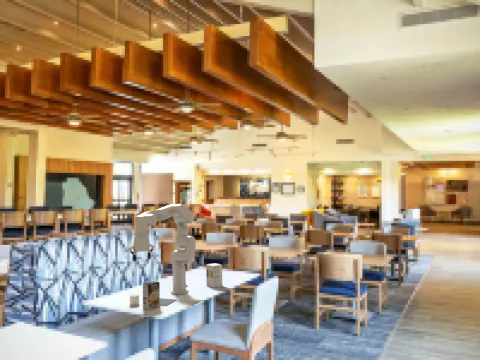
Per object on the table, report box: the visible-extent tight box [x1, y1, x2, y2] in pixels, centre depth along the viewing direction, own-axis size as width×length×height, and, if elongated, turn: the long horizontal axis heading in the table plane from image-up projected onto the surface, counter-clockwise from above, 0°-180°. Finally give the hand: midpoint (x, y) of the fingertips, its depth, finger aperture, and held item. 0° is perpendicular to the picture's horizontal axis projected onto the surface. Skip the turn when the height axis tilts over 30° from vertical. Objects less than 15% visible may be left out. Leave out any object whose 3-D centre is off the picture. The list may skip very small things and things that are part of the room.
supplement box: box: [205, 262, 223, 288], centre depth 322 cm, size 10×9×17 cm
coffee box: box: [142, 280, 161, 310], centre depth 265 cm, size 9×6×16 cm
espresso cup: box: [129, 294, 140, 307], centre depth 273 cm, size 6×6×6 cm
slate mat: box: [160, 298, 178, 307], centre depth 277 cm, size 15×16×1 cm
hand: (142, 259), depth 270 cm, fingers open, 9 cm apart
